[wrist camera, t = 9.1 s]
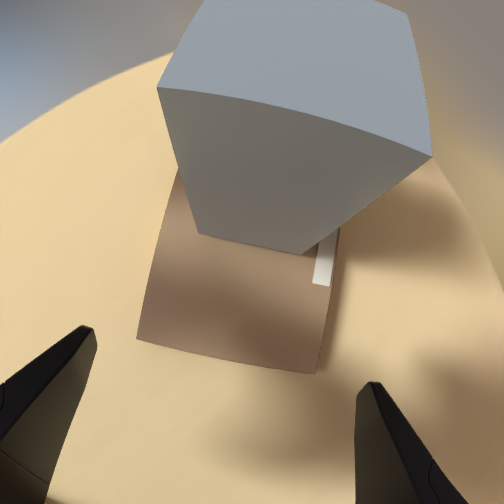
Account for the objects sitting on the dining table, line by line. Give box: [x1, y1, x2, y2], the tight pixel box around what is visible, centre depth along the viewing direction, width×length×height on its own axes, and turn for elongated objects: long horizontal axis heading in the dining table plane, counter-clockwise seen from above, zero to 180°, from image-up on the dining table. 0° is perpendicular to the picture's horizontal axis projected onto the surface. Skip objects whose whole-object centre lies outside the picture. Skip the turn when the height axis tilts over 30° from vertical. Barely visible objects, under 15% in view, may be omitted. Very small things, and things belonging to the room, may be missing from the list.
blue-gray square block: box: [157, 0, 432, 255], centre depth 10 cm, size 6×6×10 cm
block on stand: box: [136, 168, 340, 374], centre depth 13 cm, size 16×9×7 cm, turn 169°
